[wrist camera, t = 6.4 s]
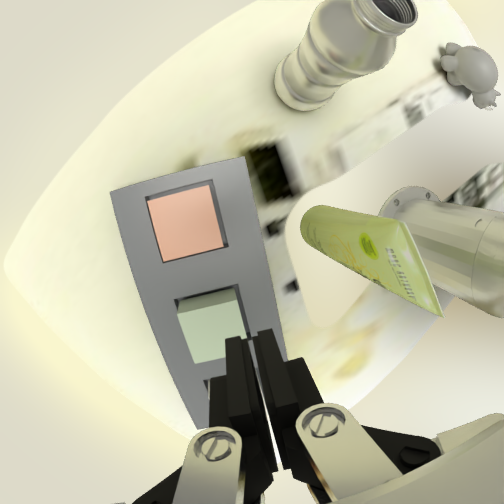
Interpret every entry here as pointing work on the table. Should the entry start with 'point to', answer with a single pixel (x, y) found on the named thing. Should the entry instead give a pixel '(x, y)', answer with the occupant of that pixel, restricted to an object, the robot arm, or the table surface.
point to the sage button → (210, 323)
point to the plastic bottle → (341, 48)
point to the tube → (372, 251)
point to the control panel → (199, 270)
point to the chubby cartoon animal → (472, 72)
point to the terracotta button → (185, 223)
